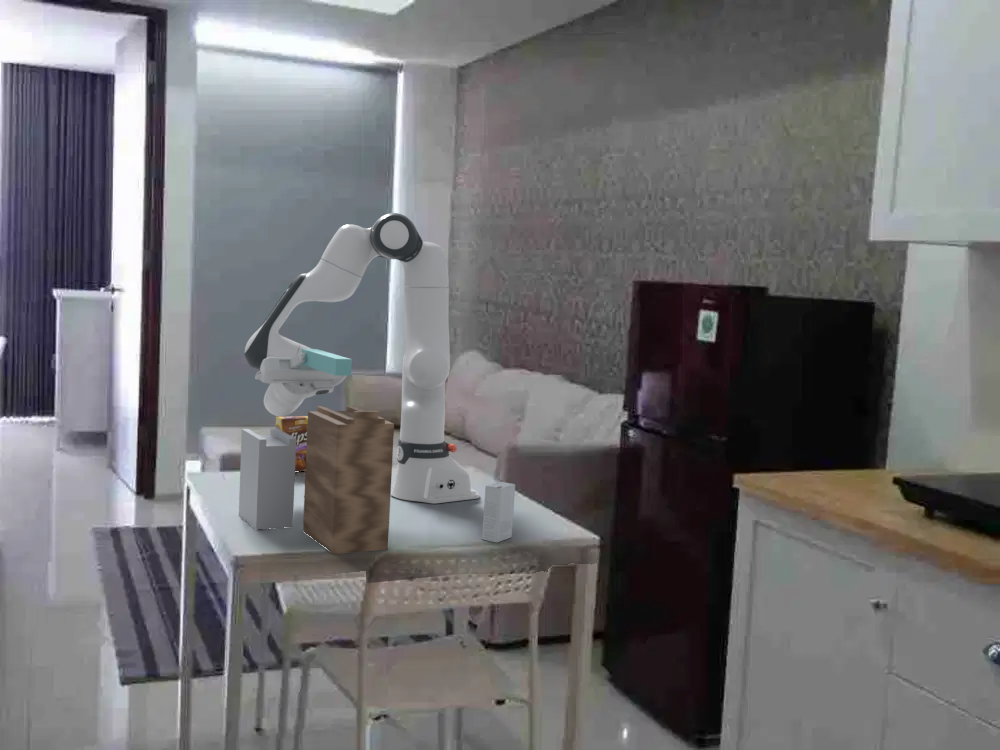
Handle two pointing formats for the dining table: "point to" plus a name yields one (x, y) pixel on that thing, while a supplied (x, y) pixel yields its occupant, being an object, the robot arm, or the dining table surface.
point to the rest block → (267, 479)
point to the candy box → (296, 436)
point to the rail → (328, 362)
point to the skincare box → (498, 511)
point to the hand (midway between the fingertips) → (314, 356)
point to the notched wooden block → (348, 479)
